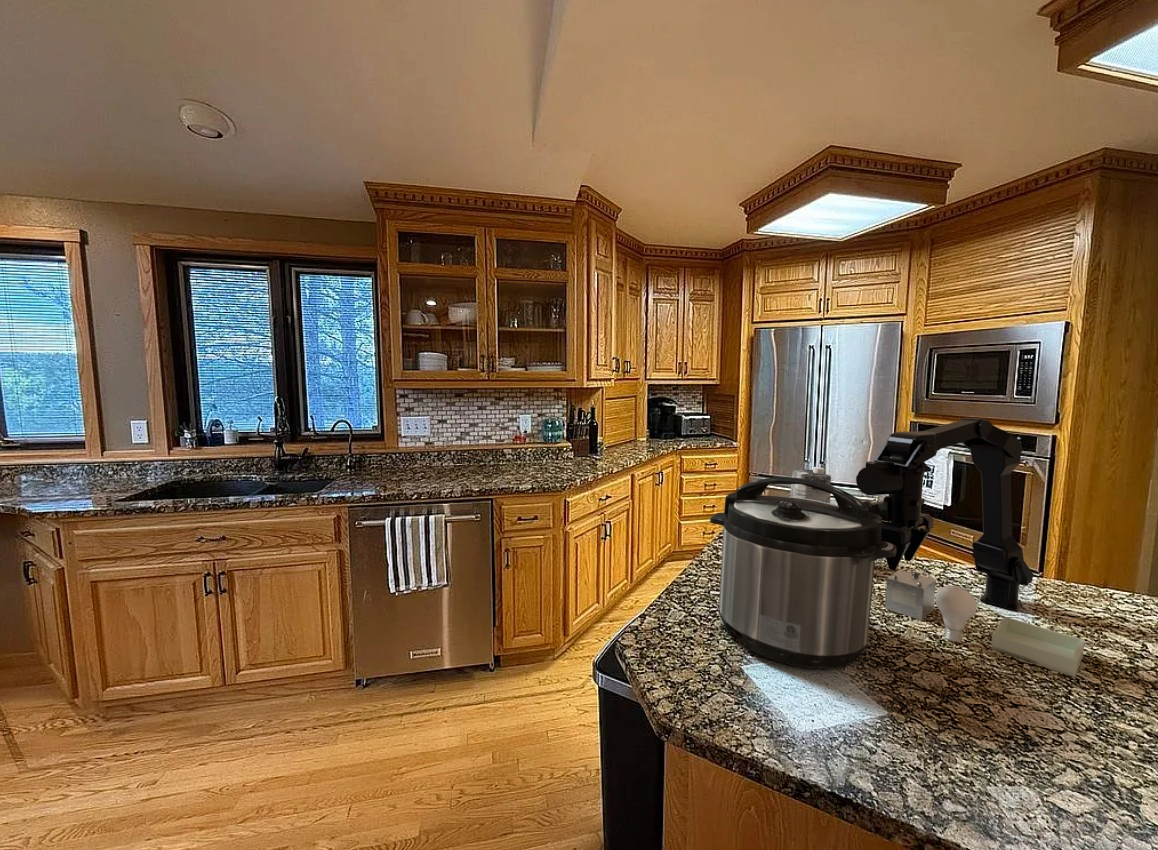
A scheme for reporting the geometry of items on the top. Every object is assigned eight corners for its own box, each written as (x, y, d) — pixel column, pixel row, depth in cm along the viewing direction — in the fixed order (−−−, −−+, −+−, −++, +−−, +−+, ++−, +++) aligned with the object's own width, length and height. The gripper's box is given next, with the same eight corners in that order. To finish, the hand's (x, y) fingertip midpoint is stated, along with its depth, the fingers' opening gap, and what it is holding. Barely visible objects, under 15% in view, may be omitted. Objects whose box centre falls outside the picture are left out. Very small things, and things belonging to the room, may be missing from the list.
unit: (897, 598, 112) (900, 566, 111) (933, 609, 106) (936, 576, 106) (884, 608, 107) (886, 574, 106) (921, 620, 101) (923, 585, 101)
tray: (1004, 630, 97) (1005, 616, 97) (1083, 655, 89) (1084, 640, 88) (991, 649, 90) (992, 633, 90) (1075, 677, 82) (1077, 660, 82)
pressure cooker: (916, 662, 86) (929, 489, 83) (793, 695, 76) (804, 501, 73) (789, 594, 114) (796, 463, 111) (688, 611, 104) (693, 468, 101)
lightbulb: (981, 651, 89) (986, 595, 89) (943, 647, 91) (947, 592, 90) (961, 634, 96) (965, 581, 95) (926, 631, 97) (929, 578, 96)
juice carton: (795, 565, 132) (800, 469, 130) (785, 552, 143) (789, 463, 140) (829, 567, 131) (835, 471, 129) (816, 554, 141) (822, 464, 139)
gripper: (879, 481, 111) (875, 546, 113) (845, 491, 100) (840, 563, 101) (936, 489, 103) (931, 560, 104) (906, 502, 91) (901, 580, 92)
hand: (900, 565), depth 101 cm, fingers open, 9 cm apart
